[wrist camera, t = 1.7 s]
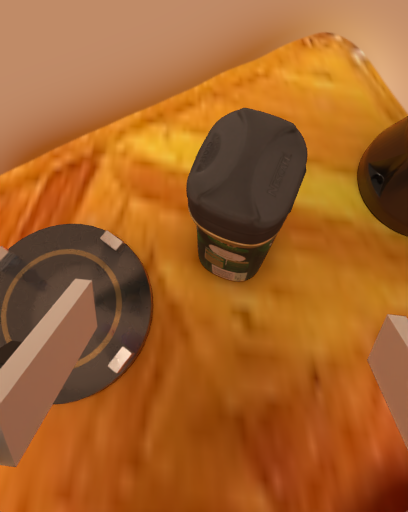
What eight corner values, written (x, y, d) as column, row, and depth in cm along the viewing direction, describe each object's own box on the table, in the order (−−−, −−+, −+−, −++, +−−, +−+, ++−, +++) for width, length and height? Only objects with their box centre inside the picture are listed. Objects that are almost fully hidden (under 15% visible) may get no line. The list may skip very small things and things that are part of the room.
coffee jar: (219, 198, 41) (221, 82, 23) (278, 219, 40) (330, 116, 22) (188, 267, 38) (165, 198, 21) (251, 292, 37) (283, 242, 20)
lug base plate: (187, 290, 38) (185, 286, 35) (71, 443, 34) (57, 452, 31) (64, 199, 41) (53, 188, 39) (-54, 326, 38) (-76, 325, 35)
